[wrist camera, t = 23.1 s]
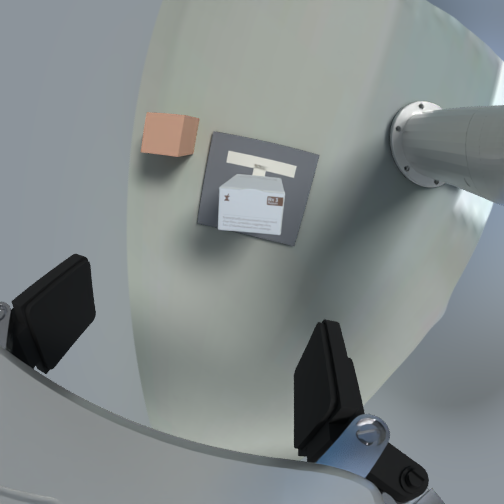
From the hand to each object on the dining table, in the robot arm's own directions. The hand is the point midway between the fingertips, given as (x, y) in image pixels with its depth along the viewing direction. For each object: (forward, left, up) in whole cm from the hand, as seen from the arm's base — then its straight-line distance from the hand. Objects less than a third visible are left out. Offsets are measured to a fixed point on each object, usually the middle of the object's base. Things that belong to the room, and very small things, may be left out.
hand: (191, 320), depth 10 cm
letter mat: (0, 0, -28) cm, 28 cm away
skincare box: (0, 0, -28) cm, 28 cm away
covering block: (+12, -5, -28) cm, 31 cm away
